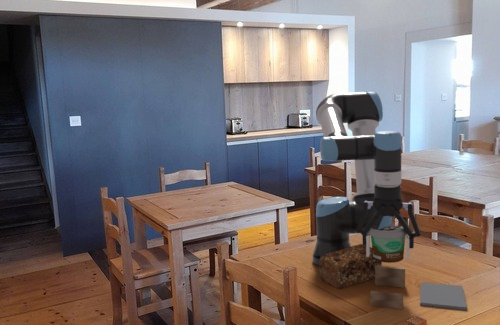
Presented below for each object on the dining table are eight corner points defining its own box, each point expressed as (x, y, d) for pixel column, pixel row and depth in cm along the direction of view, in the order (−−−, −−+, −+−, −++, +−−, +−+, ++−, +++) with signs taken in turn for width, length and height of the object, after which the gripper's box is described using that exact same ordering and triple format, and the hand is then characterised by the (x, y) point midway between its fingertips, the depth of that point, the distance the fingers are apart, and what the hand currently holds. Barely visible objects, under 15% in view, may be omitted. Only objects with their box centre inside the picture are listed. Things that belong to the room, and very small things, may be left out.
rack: (370, 305, 133) (370, 285, 132) (375, 283, 148) (375, 265, 147) (403, 309, 130) (403, 288, 129) (405, 286, 145) (405, 267, 144)
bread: (362, 268, 162) (361, 240, 161) (383, 277, 153) (383, 248, 151) (318, 279, 154) (317, 250, 152) (338, 290, 144) (337, 260, 143)
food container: (381, 267, 133) (380, 233, 131) (369, 259, 139) (368, 228, 137) (416, 259, 137) (416, 227, 135) (403, 253, 142) (403, 221, 141)
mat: (420, 305, 131) (420, 302, 131) (420, 284, 145) (420, 282, 145) (466, 310, 127) (466, 307, 127) (462, 288, 141) (462, 285, 141)
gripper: (345, 186, 135) (346, 258, 138) (430, 188, 127) (429, 264, 130) (349, 180, 142) (350, 249, 145) (430, 182, 133) (429, 255, 137)
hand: (387, 256), depth 138 cm, fingers closed on food container, 11 cm apart
